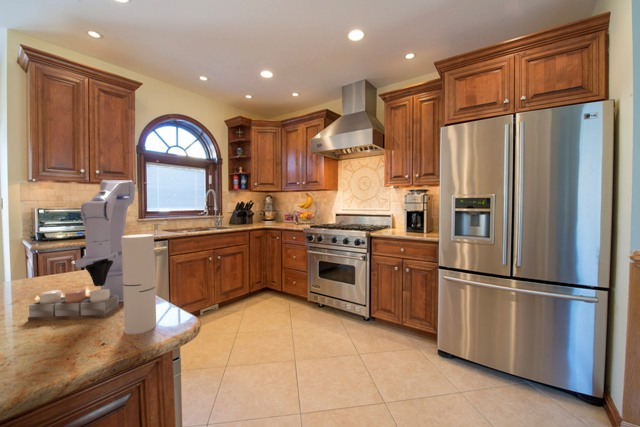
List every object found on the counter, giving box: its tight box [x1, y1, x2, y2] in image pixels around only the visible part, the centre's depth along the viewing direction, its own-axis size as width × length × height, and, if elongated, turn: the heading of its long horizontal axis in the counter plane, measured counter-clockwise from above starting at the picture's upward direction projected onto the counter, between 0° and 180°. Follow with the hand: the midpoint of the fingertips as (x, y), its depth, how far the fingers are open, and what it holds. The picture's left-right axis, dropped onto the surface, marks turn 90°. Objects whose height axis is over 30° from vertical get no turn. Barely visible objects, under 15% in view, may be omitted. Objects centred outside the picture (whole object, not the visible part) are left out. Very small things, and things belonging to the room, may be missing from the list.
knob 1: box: [39, 289, 62, 304], centre depth 82 cm, size 5×5×4 cm
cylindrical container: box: [122, 233, 157, 335], centre depth 73 cm, size 7×7×25 cm
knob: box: [89, 288, 110, 303], centre depth 83 cm, size 5×5×4 cm
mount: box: [27, 295, 120, 322], centre depth 82 cm, size 21×7×4 cm, turn 94°
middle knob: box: [64, 289, 87, 303], centre depth 82 cm, size 5×5×4 cm
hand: (99, 285), depth 82 cm, fingers closed
